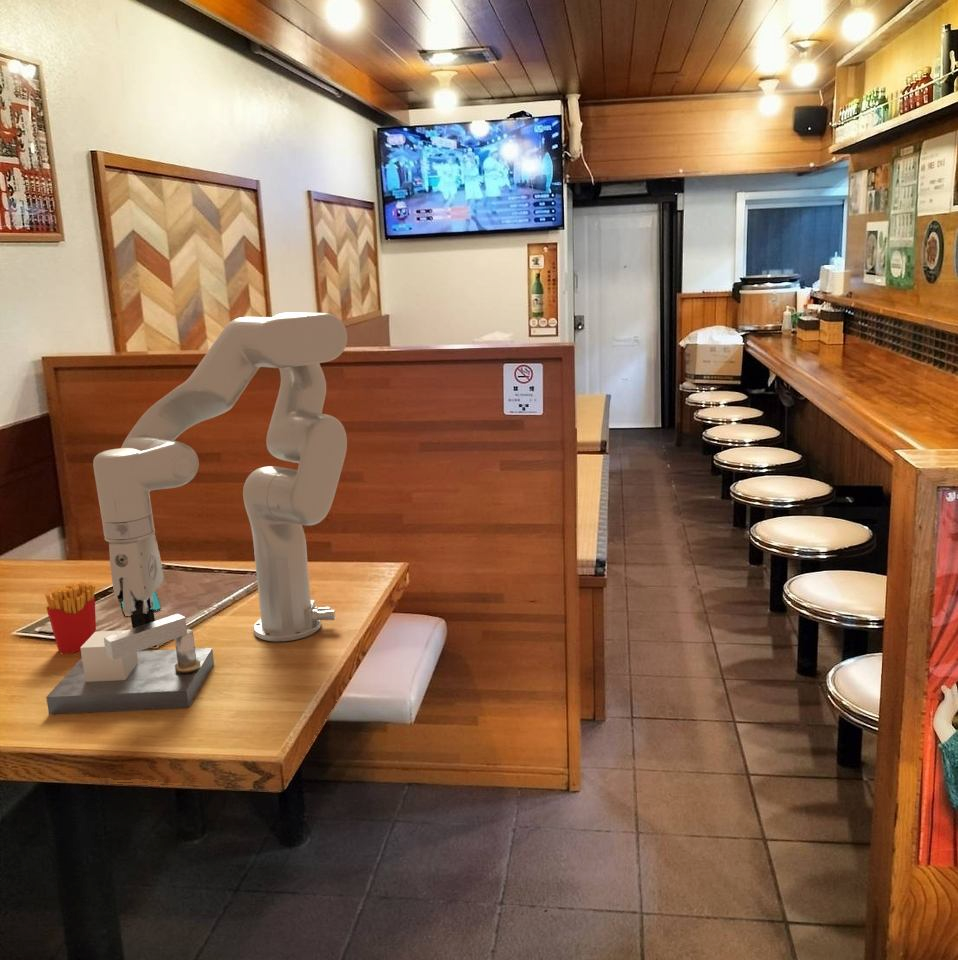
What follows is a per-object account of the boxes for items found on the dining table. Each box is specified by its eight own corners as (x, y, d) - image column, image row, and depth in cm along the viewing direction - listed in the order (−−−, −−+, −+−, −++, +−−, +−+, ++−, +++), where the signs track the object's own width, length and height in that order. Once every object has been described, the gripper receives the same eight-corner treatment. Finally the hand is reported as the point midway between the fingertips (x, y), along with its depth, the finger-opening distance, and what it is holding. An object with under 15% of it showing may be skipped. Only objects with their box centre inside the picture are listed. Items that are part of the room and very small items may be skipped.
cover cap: (138, 662, 155) (133, 629, 154) (125, 679, 149) (120, 645, 147) (100, 664, 155) (95, 631, 154) (85, 681, 149) (80, 647, 147)
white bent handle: (192, 660, 155) (186, 608, 153) (204, 666, 152) (198, 614, 150) (109, 690, 145) (101, 636, 143) (120, 698, 142) (112, 643, 140)
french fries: (57, 657, 166) (47, 594, 163) (51, 650, 169) (41, 589, 166) (105, 643, 171) (96, 583, 168) (98, 637, 174) (90, 577, 171)
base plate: (214, 663, 161) (212, 647, 160) (188, 707, 145) (186, 690, 144) (88, 669, 160) (85, 653, 160) (49, 714, 145) (46, 697, 144)
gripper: (136, 541, 137) (153, 653, 142) (167, 512, 152) (181, 614, 157) (86, 543, 137) (104, 655, 142) (122, 514, 152) (138, 616, 157)
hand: (145, 633), depth 149 cm, fingers closed
